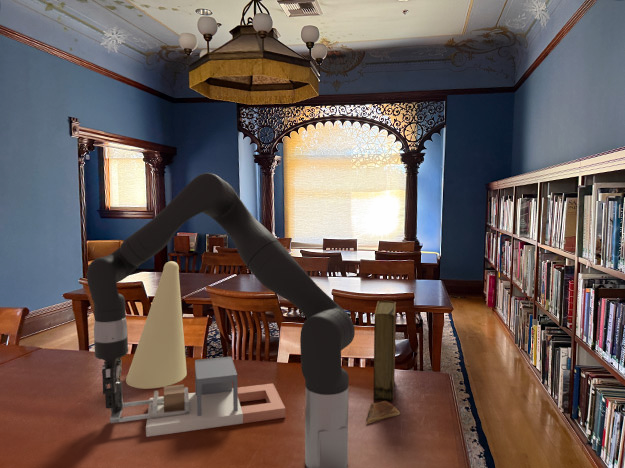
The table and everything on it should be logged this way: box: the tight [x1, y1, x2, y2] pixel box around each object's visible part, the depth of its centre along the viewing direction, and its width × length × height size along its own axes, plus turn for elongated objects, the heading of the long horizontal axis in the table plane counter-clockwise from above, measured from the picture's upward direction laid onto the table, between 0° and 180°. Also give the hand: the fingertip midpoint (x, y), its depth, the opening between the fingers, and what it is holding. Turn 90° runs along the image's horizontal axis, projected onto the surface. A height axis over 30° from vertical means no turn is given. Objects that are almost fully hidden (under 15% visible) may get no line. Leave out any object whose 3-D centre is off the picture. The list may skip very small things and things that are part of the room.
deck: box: [145, 383, 286, 438], centre depth 120 cm, size 16×34×2 cm, turn 106°
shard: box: [365, 400, 401, 425], centre depth 120 cm, size 11×8×2 cm
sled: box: [109, 379, 189, 424], centre depth 115 cm, size 9×19×8 cm, turn 106°
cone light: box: [125, 260, 188, 390], centre depth 145 cm, size 25×18×35 cm
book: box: [372, 300, 397, 402], centre depth 133 cm, size 16×6×25 cm, turn 168°
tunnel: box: [194, 356, 238, 416], centre depth 121 cm, size 14×10×10 cm
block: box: [163, 384, 185, 412], centre depth 117 cm, size 5×5×5 cm
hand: (113, 399), depth 113 cm, fingers open, 8 cm apart
